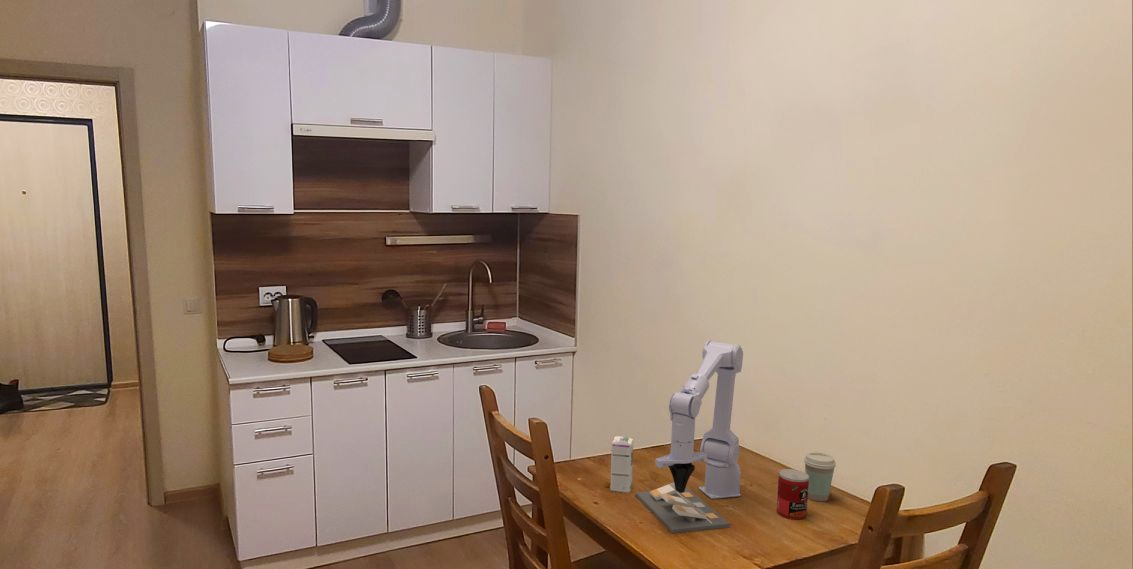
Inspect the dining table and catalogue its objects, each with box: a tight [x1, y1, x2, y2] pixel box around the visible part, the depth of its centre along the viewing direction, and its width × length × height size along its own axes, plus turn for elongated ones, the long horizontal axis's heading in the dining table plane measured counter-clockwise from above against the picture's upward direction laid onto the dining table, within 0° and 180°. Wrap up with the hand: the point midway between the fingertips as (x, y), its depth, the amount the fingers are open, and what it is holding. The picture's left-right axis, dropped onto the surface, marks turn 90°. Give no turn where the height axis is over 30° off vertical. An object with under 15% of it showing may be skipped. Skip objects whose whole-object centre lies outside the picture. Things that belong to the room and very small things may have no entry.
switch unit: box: [634, 487, 731, 534], centre depth 194 cm, size 16×24×2 cm, turn 17°
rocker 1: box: [649, 481, 678, 501], centre depth 200 cm, size 8×4×1 cm, turn 107°
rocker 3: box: [672, 505, 707, 519], centre depth 187 cm, size 8×4×1 cm, turn 107°
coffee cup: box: [803, 452, 837, 502], centre depth 206 cm, size 8×9×12 cm
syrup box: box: [609, 435, 634, 494], centre depth 207 cm, size 6×6×14 cm
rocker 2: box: [661, 493, 694, 508], centre depth 193 cm, size 8×4×1 cm, turn 107°
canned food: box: [776, 468, 809, 520], centre depth 194 cm, size 8×8×11 cm
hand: (679, 491), depth 185 cm, fingers closed
